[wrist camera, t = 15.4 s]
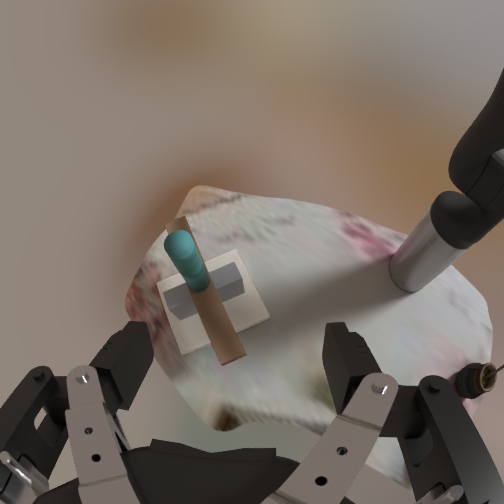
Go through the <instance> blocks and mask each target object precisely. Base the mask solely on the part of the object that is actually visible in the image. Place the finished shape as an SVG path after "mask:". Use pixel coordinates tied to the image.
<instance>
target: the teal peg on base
mask: <svg viewBox="0 0 504 504" xmlns="http://www.w3.org/2000/svg"><path fill="white" fill-rule="evenodd" d="M165 226H166V229H167V232H168V236H167V238H166V239H165V242H164V248H165V251H166V252H167V254H168V255H169V257H170V258H171V260H172V262H173V263H174V265H175V266H176V268H177V269H178V271H179V272H180V274H181V275H182V277H183V278H184V280H185V281H186V284H187V286H188V289H189V292H190V294H191V297H192V299H193V302H194V304H195V307H196V309H197V312H198V314H199V316H200V319H201V321H202V324H203V326H204V328H205V331H206V333H207V335H208V338H209V340H210V342H211V344H212V347H213V349H214V351H215V353H216V356H217V358H218V360H219V362H220V364H221V365H222V366H223V365H226V364H228V363H230V362H233V361H235V360H237V359H239V358H242V357H244V356H246V355H247V354H246V352H245V350H244V348H243V346H242V344H241V342H240V340H239V338H238V336H237V334H236V332H235V329H234V327H233V325H232V323H231V321H230V319H229V317H228V314H227V312H226V310H225V308H224V306H223V303H222V301H221V299H220V297H219V295H218V292H217V290H216V288H215V286H214V283H213V281H212V279H211V277H210V274H209V272H208V270H207V267H206V265H205V263H204V260H203V258H202V256H201V253H200V251H199V249H198V246H197V244H196V242H195V239H194V237H193V234H192V232H191V229H190V227H189V225H188V222H187V220H186V217H185V216H183V217H181V218H178V219H176V220H174V221H171V222H169V223H167V224H165Z"/></svg>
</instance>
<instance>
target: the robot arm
mask: <svg viewBox="0 0 504 504" xmlns="http://www.w3.org/2000/svg"><path fill="white" fill-rule="evenodd" d="M448 171H449V177H450V179H451V181H452V182H453V184H454V185H455V186H456V187H457V188H458V189H459V190H460V191H461V192H463V193H464V194H465V195H463V194H461V193H458V192H455V191H445V192H443V193H441V194H440V195H439V196H438V197H437V198H436V199H435V201H434V202H433V204H432V205H431V207H430V208H429V210H428V211H427V212H426V214H425V215H424V217H423V218H422V219H421V221H420V222H419V223H418V225H417V226H416V227H415V229H414V230H413V231H412V233H411V234H410V235H409V236H408V238H407V239H406V240H405V242H404V243H403V244H402V245H401V246H400V248H399V249H398V250H397V251H396V253H395V254H394V255H393V256H392V258H391V261H390V266H389V268H390V274H391V277H392V279H393V280H394V282H395V283H396V285H398V286H399V287H400V288H401V289H403V290H405V291H407V292H417V291H419V290H420V289H422V288H423V287H424V286H426V285H427V284H428V283H429V282H431V281H432V280H433V279H434V278H436V277H437V276H438V275H439V274H440V273H442V272H443V271H444V270H445V269H446V268H447V267H449V266H450V265H451V264H452V263H453V262H454V261H455V260H456V259H458V258H459V257H460V256H461V255H462V254H463V253H464V252H465V251H466V250H467V249H468V248H469V247H470V246H471V245H473V244H474V243H476V242H478V241H479V240H480V239H482V238H483V237H484V236H485V235H486V234H487V233H488V232H489V231H490V230H491V229H492V228H494V227H495V226H496V225H497V224H498V223H499V222H500V221H501V220H502V219H504V69H503V71H502V73H501V76H500V78H499V80H498V83H497V85H496V87H495V89H494V91H493V93H492V95H491V97H490V99H489V101H488V102H487V104H486V105H485V107H484V108H483V110H482V111H481V112H480V114H479V115H478V117H477V118H476V119H475V121H474V122H473V123H472V125H471V126H470V127H469V129H468V130H467V131H466V132H465V134H464V135H463V137H462V138H461V140H460V141H459V142H458V144H457V146H456V148H455V149H454V151H453V154H452V156H451V159H450V162H449V169H448ZM153 357H154V352H153V347H152V343H151V339H150V335H149V331H148V327H147V324H146V323H145V322H137V321H129V322H128V323H127V325H126V326H125V327H124V329H123V330H122V331H121V330H120V331H118V332H117V333H115V334H114V335H112V336H111V337H110V338H109V340H108V341H107V343H106V344H105V345H104V346H103V348H102V349H101V350H100V351H99V353H98V354H97V355H96V357H95V358H94V359H93V360H92V362H91V363H90V364H89V365H88V366H86V365H85V366H79V367H76V368H74V369H73V370H71V371H70V372H69V374H68V376H54V375H53V373H52V371H51V369H50V368H49V367H47V366H39V367H36V368H34V369H32V370H31V371H30V372H29V373H28V374H27V375H26V376H25V378H24V379H23V380H22V381H21V382H20V384H19V385H18V386H17V387H16V389H15V390H14V391H13V393H12V394H11V395H10V396H9V398H8V399H7V401H6V402H5V403H4V404H3V406H2V407H1V408H0V504H355V503H354V502H352V501H351V500H349V499H348V498H347V497H345V495H346V493H347V491H348V490H349V488H350V487H351V485H352V484H353V482H354V480H355V478H356V477H357V475H358V474H359V472H360V470H361V468H362V467H363V465H364V463H365V461H366V460H367V458H368V456H369V454H370V452H371V450H372V448H373V446H374V444H375V442H376V440H377V438H378V437H397V439H398V442H399V445H400V448H401V451H402V454H403V457H404V460H405V464H406V467H407V470H408V474H409V477H410V481H411V484H412V488H413V492H414V495H415V499H416V503H415V504H504V485H503V482H502V480H501V477H500V475H499V473H498V471H497V468H496V467H495V464H494V462H493V460H492V458H491V456H490V454H489V452H488V450H487V448H486V446H485V444H484V442H483V440H482V438H481V436H480V434H479V432H478V431H477V429H476V427H475V425H474V423H473V421H472V420H471V418H470V416H469V414H468V413H467V411H466V409H465V408H464V406H463V404H462V402H461V401H460V399H459V397H458V396H457V394H456V393H455V391H454V389H453V388H452V386H451V385H450V383H449V382H448V381H447V380H446V379H444V378H443V377H440V376H436V375H430V376H426V377H424V378H423V379H422V380H421V381H420V383H419V385H418V386H403V385H398V383H397V381H396V380H395V379H394V378H393V377H391V376H390V375H387V374H384V373H382V371H381V369H380V368H379V366H378V364H377V362H376V360H375V358H374V356H373V355H372V353H371V351H370V349H369V347H367V344H366V342H365V340H364V338H363V337H361V336H360V335H359V334H358V333H356V332H349V331H348V329H347V327H346V325H345V323H344V322H334V323H327V324H326V328H325V336H324V344H323V352H322V360H323V366H324V369H325V373H326V376H327V380H328V383H329V387H330V390H331V394H332V397H333V401H334V405H335V408H336V412H337V416H336V417H335V419H334V420H333V421H332V423H331V424H330V426H329V427H328V429H327V430H326V431H325V433H324V434H323V436H322V437H321V438H320V440H319V441H318V442H317V444H316V445H315V446H314V448H313V449H312V450H311V451H310V453H309V454H308V455H307V456H306V458H305V459H304V460H303V462H302V463H299V462H297V461H294V460H291V459H288V458H285V457H280V456H276V448H242V449H236V450H230V451H223V452H215V453H209V452H205V451H202V450H199V449H196V448H193V447H190V446H187V445H184V444H181V443H175V442H169V441H162V440H157V439H152V442H151V444H150V446H146V447H139V448H135V449H131V447H130V445H129V443H128V441H127V438H126V436H125V433H124V431H123V428H122V426H121V423H120V420H119V418H118V416H117V414H116V412H117V410H118V409H123V410H129V408H130V406H131V404H132V402H133V400H134V398H135V396H136V393H137V392H138V389H139V388H140V385H141V383H142V381H143V380H144V378H145V376H146V374H147V371H148V369H149V368H150V366H151V364H152V361H153ZM42 407H43V409H44V410H45V412H46V413H47V414H46V416H45V417H44V419H43V421H42V422H41V424H40V426H39V427H38V429H37V430H36V428H35V426H34V420H35V417H36V416H37V414H38V413H39V411H40V410H41V408H42ZM68 437H69V440H70V445H71V449H72V454H73V459H74V463H75V467H76V471H77V474H78V477H77V478H75V479H73V480H71V481H69V482H67V483H65V484H63V485H61V486H58V487H56V488H54V489H52V490H49V483H48V480H49V477H50V475H51V473H52V471H53V468H54V466H55V464H56V462H57V460H58V458H59V456H60V454H61V451H62V450H63V447H64V445H65V443H66V441H67V439H68Z"/></svg>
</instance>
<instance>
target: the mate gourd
mask: <svg viewBox="0 0 504 504" xmlns="http://www.w3.org/2000/svg"><path fill="white" fill-rule="evenodd" d="M503 368H504V365H503V366H501V367H500V368H498V369H497V370H496V368H495V366H494V365H493V364H492V363H486V364H480V363H471V364H469V365H467V366H465V367H464V368H463V369H462V370H461V371H460V372H459V374H458V377H457V381H456V389H457V392H458V393H459V395H460V396H462V397H464V398H468V399H474V398H477V397H478V396H480V395H481V394H483V393H485V392H489V391H491V390H492V388H493V387H494V385H495V383H496V378H497V372H498V371H500V370H501V369H503Z"/></svg>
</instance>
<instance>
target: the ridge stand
mask: <svg viewBox="0 0 504 504" xmlns="http://www.w3.org/2000/svg"><path fill="white" fill-rule="evenodd" d="M204 263H205V265H206V267H207V270H208V272H209V274H210V277H211V279H212V281H213V283H214V286H215V288H216V290H217V292H218V295H219V297H220V299H221V301H222V303H223V306H224V308H225V310H226V312H227V314H228V317H229V319H230V321H231V323H232V325H233V327H234V329H235V332H236V333H238V332H241V331H243V330H245V329H247V328H249V327H252V326H254V325H256V324H258V323H260V322H263V321H265V320H267V319H269V318H270V315H269V313H268V311H267V309H266V307H265V305H264V303H263V301H262V299H261V297H260V295H259V293H258V292H257V290H256V288H255V286H254V284H253V282H252V280H251V278H250V276H249V274H248V272H247V270H246V268H245V266H244V264H243V262H242V260H241V258H240V256H239V254H238V252H237V250H236V249H234V250H232V251H229V252H227V253H225V254H222V255H220V256H218V257H215V258H213V259H211V260H208V261H206V262H204ZM156 284H157V287H158V290H159V293H160V296H161V299H162V302H163V305H164V308H165V311H166V314H167V317H168V320H169V323H170V325H171V328H172V331H173V334H174V336H175V339H176V342H177V344H178V347H179V349H180V352H181V354H182V355H186V354H189V353H191V352H194V351H196V350H198V349H201V348H203V347H206V346H208V345H211V342H210V340H209V338H208V335H207V333H206V331H205V328H204V326H203V324H202V321H201V319H200V316H199V314H198V312H197V309H196V307H195V304H194V302H193V299H192V297H191V294H190V292H189V289H188V286H187V284H186V281H185V280H184V278H183V277H182V275H181V274H180V273H178V274H176V275H173V276H171V277H169V278H166V279H164V280H162V281H159V282H157V283H156Z"/></svg>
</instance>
